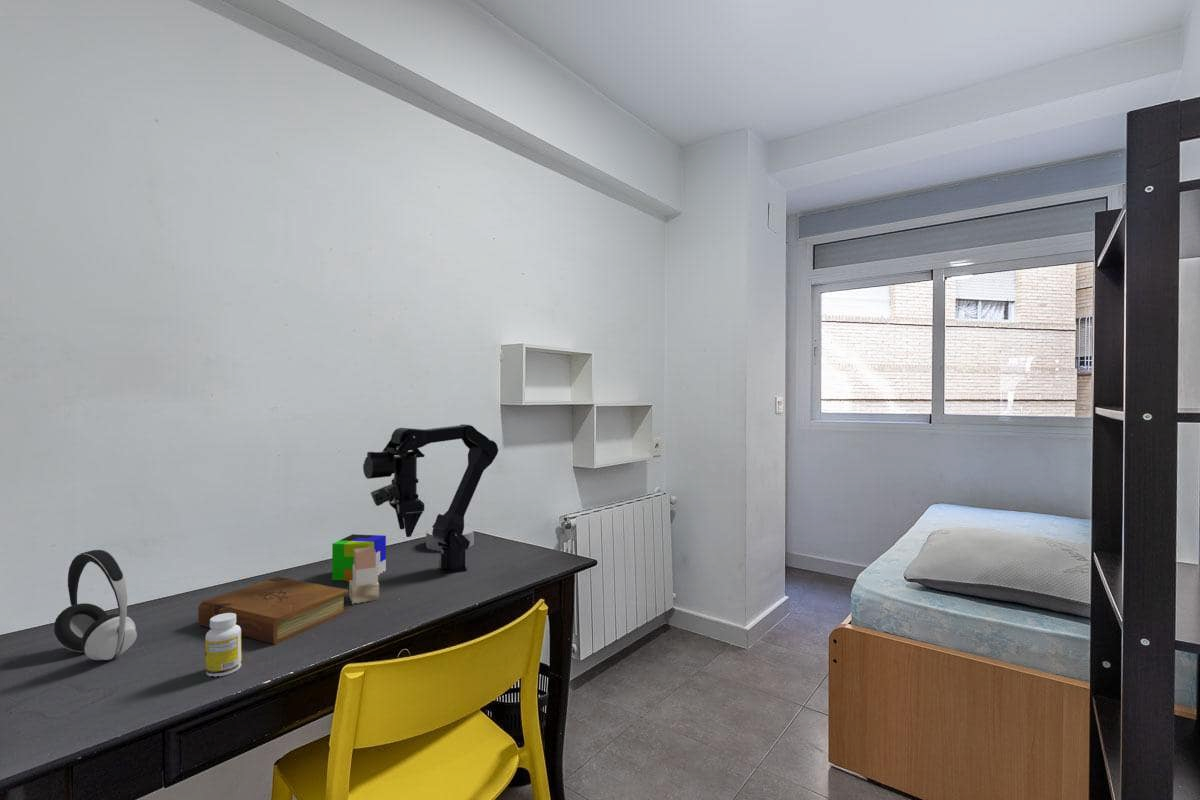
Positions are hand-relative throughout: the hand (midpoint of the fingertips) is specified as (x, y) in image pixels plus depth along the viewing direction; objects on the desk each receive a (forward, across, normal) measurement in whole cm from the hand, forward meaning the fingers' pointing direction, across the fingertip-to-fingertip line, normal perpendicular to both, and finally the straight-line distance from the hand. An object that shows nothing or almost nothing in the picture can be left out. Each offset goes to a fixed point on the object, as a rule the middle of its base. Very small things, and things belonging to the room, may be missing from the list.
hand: (405, 532), depth 150 cm
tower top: (+9, +8, -11) cm, 16 cm away
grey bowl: (+13, -30, +20) cm, 38 cm away
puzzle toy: (+13, -11, -10) cm, 20 cm away
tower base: (+13, +8, -11) cm, 19 cm away
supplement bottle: (+13, +34, -38) cm, 53 cm away
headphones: (+13, +15, -60) cm, 63 cm away
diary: (+14, +12, -30) cm, 35 cm away
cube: (+5, +8, -11) cm, 14 cm away
